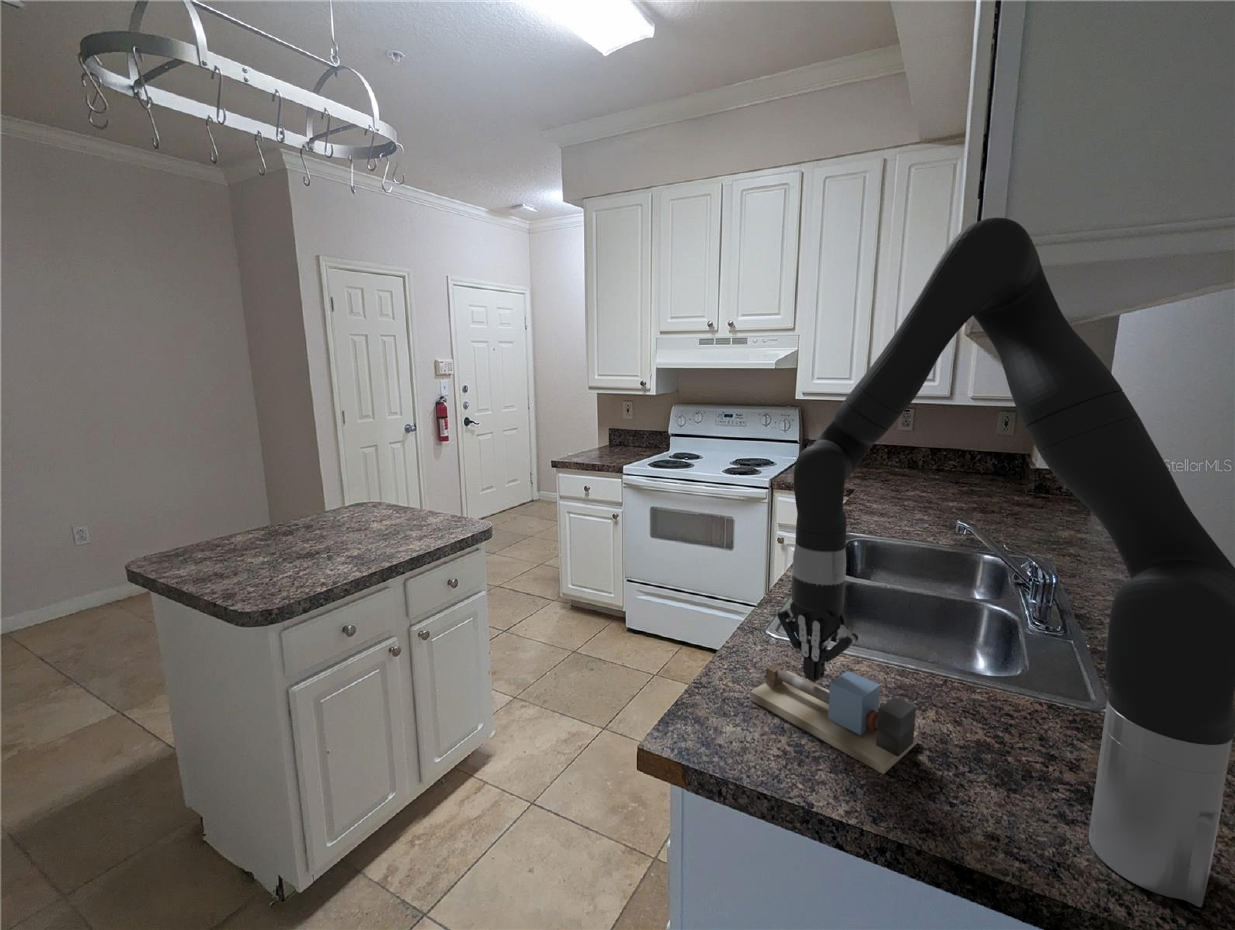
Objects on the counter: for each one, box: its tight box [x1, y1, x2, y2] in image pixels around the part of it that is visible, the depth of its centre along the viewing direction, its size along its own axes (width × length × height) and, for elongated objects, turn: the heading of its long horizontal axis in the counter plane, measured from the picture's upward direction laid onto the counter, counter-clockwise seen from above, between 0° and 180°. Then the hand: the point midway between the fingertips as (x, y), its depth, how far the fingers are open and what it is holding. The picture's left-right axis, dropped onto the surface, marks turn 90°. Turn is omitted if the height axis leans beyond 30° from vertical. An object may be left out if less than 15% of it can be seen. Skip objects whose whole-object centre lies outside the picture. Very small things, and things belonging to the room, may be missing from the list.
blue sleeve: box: [828, 670, 881, 735], centre depth 81 cm, size 5×5×6 cm
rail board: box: [749, 663, 920, 775], centre depth 84 cm, size 22×10×7 cm, turn 38°
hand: (813, 678), depth 86 cm, fingers closed
